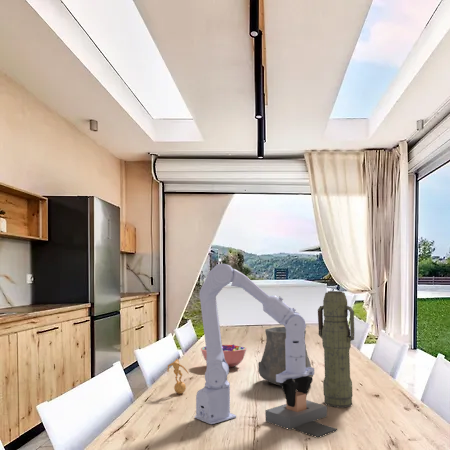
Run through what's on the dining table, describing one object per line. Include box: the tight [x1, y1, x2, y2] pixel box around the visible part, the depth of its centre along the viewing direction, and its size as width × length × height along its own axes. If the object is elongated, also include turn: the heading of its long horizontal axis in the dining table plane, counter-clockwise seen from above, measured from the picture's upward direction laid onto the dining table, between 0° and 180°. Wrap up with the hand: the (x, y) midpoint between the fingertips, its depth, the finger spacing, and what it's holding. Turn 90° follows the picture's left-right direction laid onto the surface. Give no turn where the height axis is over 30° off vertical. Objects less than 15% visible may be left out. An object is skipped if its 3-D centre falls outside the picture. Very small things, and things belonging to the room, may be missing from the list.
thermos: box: [317, 290, 355, 408], centre depth 144 cm, size 9×12×35 cm
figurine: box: [166, 358, 189, 395], centre depth 154 cm, size 8×6×12 cm
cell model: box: [200, 344, 247, 368], centre depth 194 cm, size 17×20×11 cm
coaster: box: [293, 421, 338, 438], centre depth 119 cm, size 8×8×1 cm
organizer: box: [264, 399, 328, 430], centre depth 128 cm, size 16×9×3 cm, turn 130°
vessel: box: [257, 326, 314, 386], centre depth 167 cm, size 22×22×20 cm
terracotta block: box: [285, 390, 307, 412], centre depth 128 cm, size 4×4×7 cm
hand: (296, 404), depth 128 cm, fingers closed on terracotta block, 4 cm apart
